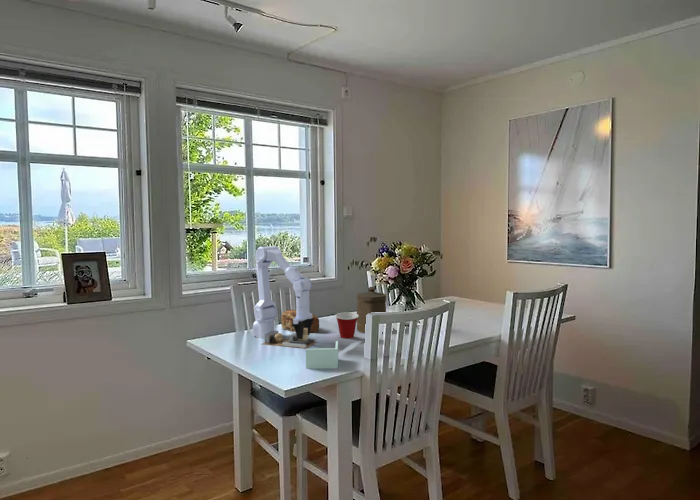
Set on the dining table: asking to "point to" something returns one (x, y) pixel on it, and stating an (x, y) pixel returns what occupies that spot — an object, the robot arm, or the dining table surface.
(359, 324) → the wooden container
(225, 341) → the dining table surface
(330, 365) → the right angle wall
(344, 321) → the plastic cup
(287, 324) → the bread
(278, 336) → the tan ball
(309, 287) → the robot arm
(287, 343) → the press base
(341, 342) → the dining table surface
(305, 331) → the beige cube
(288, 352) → the dining table surface
